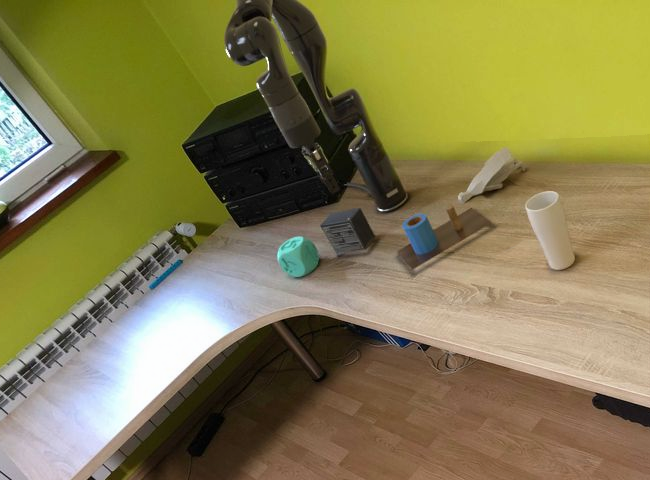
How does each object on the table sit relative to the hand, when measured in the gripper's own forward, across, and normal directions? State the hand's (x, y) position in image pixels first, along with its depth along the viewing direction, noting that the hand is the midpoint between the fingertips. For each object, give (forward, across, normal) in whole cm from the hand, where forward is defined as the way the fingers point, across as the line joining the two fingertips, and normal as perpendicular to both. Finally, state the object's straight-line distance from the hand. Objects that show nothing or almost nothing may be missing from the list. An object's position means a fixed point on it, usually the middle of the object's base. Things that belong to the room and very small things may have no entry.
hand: (331, 186), depth 144 cm
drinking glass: (+25, -37, -31) cm, 55 cm away
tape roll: (+23, -4, -13) cm, 27 cm away
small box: (+24, +18, 0) cm, 30 cm away
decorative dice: (+24, +24, +15) cm, 37 cm away
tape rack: (+24, -4, -17) cm, 30 cm away
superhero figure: (+24, +8, -38) cm, 45 cm away
